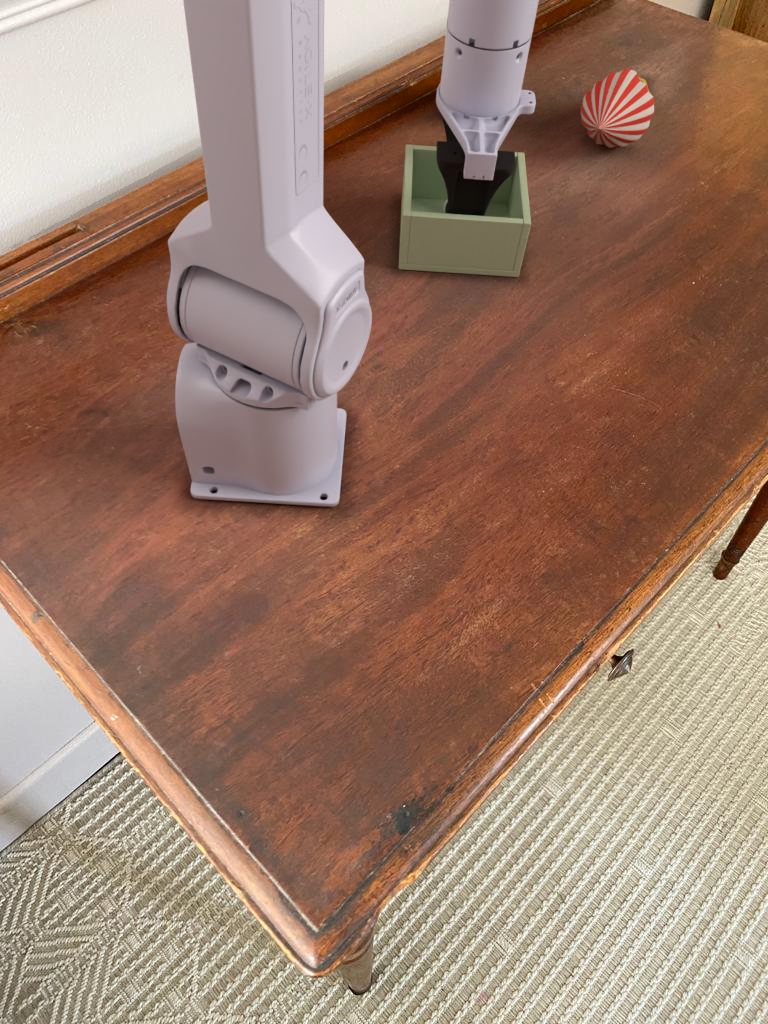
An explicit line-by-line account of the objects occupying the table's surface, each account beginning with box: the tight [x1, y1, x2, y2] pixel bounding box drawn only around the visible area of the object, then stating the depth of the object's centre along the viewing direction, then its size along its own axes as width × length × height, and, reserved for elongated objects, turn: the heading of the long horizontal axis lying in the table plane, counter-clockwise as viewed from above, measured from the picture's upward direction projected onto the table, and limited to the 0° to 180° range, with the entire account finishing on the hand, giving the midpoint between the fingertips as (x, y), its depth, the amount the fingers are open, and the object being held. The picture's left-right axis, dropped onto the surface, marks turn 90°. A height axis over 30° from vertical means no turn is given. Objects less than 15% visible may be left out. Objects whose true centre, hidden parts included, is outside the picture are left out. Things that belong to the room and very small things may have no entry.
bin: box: [398, 143, 532, 278], centre depth 65 cm, size 10×9×5 cm
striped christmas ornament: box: [580, 68, 655, 149], centre depth 75 cm, size 6×6×20 cm
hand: (462, 206), depth 64 cm, fingers closed on wristwatch, 5 cm apart
